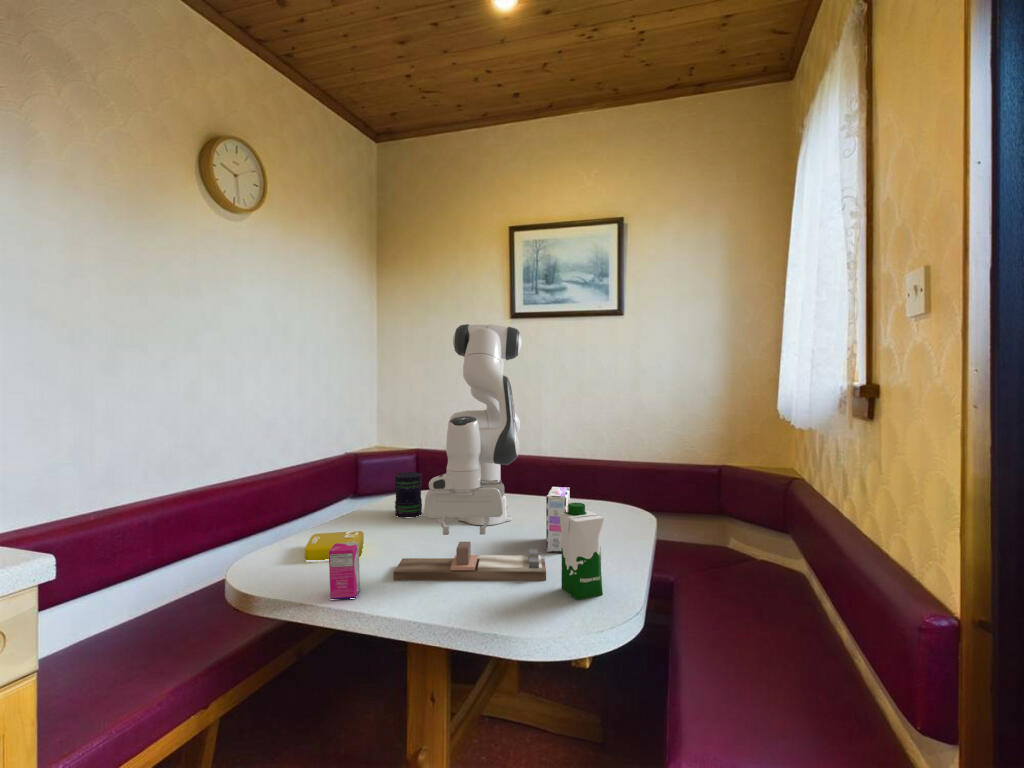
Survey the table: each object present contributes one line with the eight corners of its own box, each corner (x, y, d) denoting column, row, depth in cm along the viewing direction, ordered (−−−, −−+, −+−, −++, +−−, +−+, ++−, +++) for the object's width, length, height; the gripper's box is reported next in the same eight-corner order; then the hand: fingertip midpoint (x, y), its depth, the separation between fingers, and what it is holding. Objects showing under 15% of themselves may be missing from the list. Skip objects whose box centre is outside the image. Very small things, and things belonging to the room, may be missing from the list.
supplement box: (335, 590, 123) (334, 542, 123) (360, 589, 124) (360, 541, 124) (328, 601, 118) (328, 550, 118) (355, 599, 118) (355, 549, 118)
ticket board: (402, 565, 140) (402, 548, 140) (544, 565, 139) (544, 548, 139) (393, 580, 130) (393, 561, 130) (546, 580, 129) (546, 561, 129)
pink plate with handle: (455, 557, 139) (455, 539, 139) (477, 557, 139) (477, 539, 139) (450, 570, 130) (450, 551, 130) (474, 570, 130) (474, 551, 130)
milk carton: (587, 582, 128) (587, 500, 127) (608, 596, 119) (608, 508, 119) (556, 588, 124) (555, 504, 124) (575, 602, 116) (574, 513, 116)
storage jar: (419, 518, 188) (418, 476, 188) (392, 518, 188) (391, 477, 188) (424, 511, 198) (423, 472, 198) (398, 511, 198) (398, 472, 198)
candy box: (566, 553, 148) (566, 496, 148) (545, 552, 150) (545, 495, 149) (570, 539, 162) (570, 486, 162) (551, 538, 163) (551, 485, 163)
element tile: (312, 547, 157) (312, 532, 157) (364, 544, 160) (363, 528, 160) (303, 565, 142) (303, 547, 142) (360, 560, 145) (360, 543, 145)
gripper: (504, 477, 137) (505, 530, 137) (427, 478, 137) (427, 531, 137) (503, 482, 131) (504, 537, 130) (422, 482, 131) (423, 537, 131)
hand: (464, 534), depth 134 cm, fingers open, 8 cm apart
